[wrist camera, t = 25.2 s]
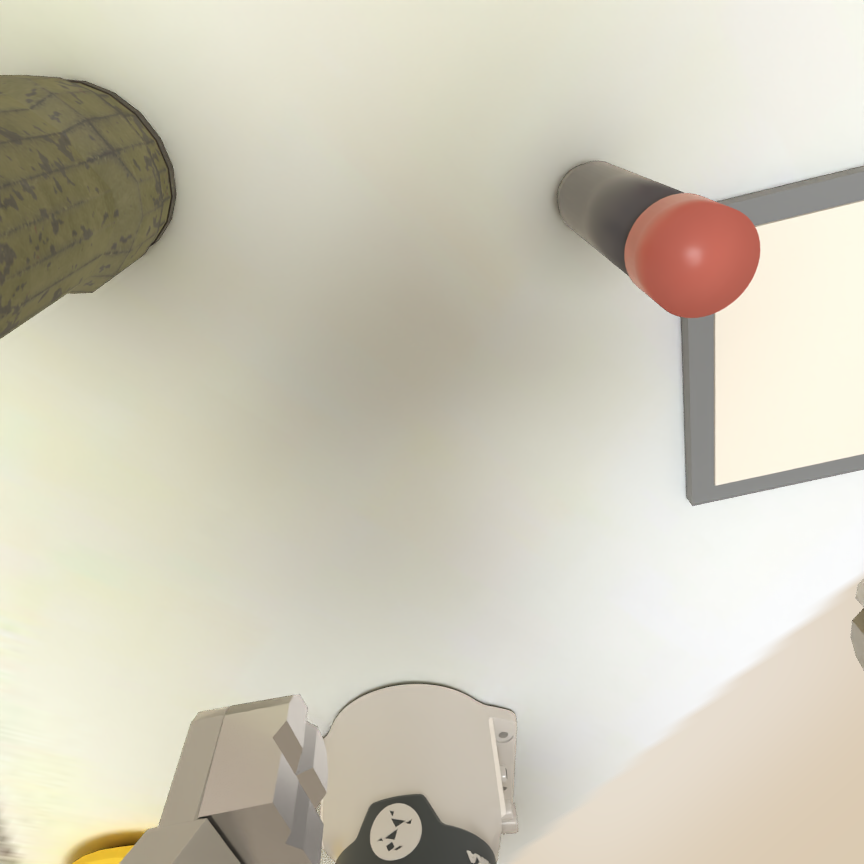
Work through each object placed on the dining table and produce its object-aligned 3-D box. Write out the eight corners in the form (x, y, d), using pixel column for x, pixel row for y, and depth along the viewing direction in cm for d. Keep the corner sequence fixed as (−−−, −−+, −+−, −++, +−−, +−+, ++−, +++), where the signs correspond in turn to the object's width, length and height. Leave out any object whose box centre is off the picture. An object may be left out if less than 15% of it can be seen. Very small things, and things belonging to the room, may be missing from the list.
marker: (622, 220, 35) (758, 303, 22) (554, 237, 35) (651, 329, 22) (616, 147, 33) (762, 193, 20) (545, 165, 33) (645, 221, 20)
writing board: (917, 448, 43) (930, 457, 42) (686, 497, 44) (693, 507, 43) (976, 138, 34) (995, 140, 33) (678, 211, 35) (687, 215, 34)
